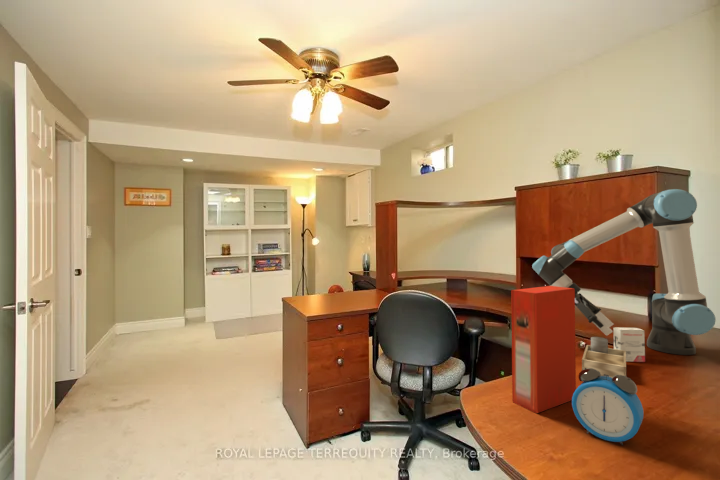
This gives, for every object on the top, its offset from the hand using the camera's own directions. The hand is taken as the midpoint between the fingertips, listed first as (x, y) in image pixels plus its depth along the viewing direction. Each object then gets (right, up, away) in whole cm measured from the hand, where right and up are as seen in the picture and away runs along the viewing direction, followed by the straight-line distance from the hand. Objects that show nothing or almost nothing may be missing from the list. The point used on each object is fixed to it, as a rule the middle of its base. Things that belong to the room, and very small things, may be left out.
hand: (610, 329), depth 136 cm
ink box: (+5, -11, -3) cm, 12 cm away
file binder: (-45, -11, -36) cm, 58 cm away
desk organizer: (-11, -11, -12) cm, 20 cm away
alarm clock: (-39, -11, -54) cm, 67 cm away
